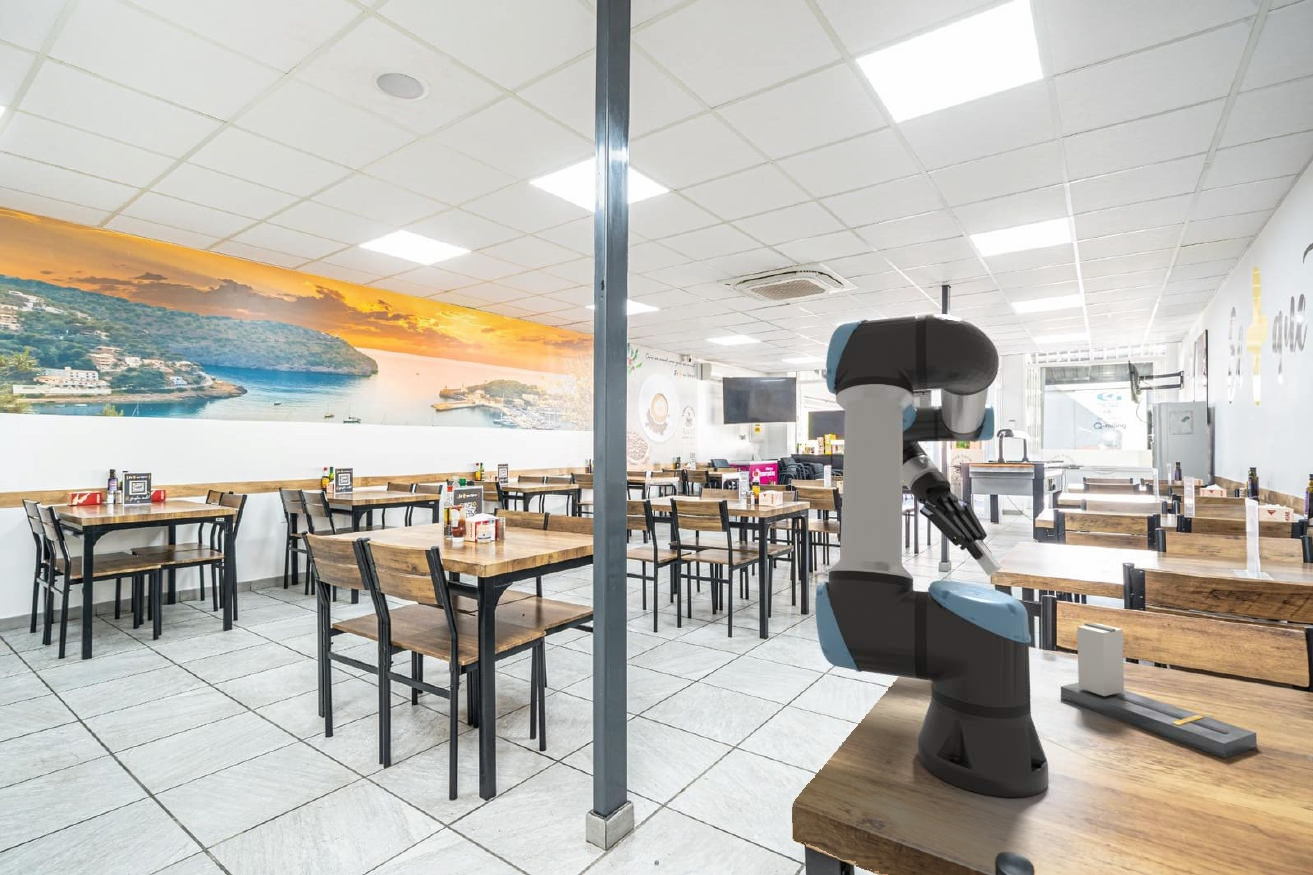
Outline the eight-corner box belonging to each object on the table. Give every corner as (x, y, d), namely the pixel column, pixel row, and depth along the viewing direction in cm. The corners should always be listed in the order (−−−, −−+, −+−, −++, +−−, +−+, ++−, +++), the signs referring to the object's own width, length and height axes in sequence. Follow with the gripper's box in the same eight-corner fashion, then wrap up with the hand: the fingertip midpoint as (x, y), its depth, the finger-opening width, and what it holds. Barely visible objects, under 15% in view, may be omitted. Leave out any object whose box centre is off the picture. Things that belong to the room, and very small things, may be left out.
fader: (1078, 687, 101) (1077, 624, 102) (1097, 682, 103) (1096, 621, 104) (1104, 696, 98) (1103, 631, 98) (1124, 691, 99) (1122, 627, 100)
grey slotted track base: (1060, 698, 102) (1060, 685, 102) (1091, 691, 106) (1091, 678, 106) (1224, 758, 82) (1224, 742, 82) (1256, 747, 85) (1256, 731, 85)
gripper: (911, 469, 129) (982, 562, 114) (956, 468, 134) (1030, 557, 119) (893, 493, 134) (959, 585, 119) (937, 491, 139) (1006, 579, 124)
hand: (994, 571), depth 119 cm, fingers closed
